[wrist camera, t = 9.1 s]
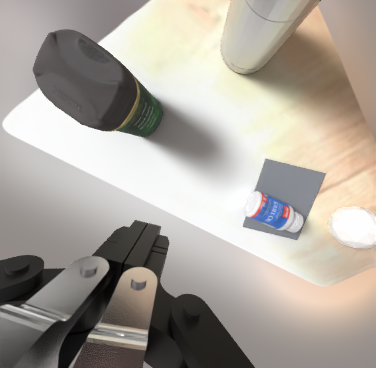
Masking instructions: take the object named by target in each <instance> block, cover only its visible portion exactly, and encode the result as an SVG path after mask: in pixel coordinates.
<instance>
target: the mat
mask: <svg viewBox="0 0 376 368" xmlns="http://www.w3.org/2000/svg"><path fill="white" fill-rule="evenodd" d="M325 174H326V173H322V172H318V171H314V170H310V169H306V168H301V167H297V166H293V165H289V164H285V163H281V162H277V161H273V160H269V159H265V162H264V165H263V168H262V171H261V174H260V177H259V180H258V183H257V185H256V188H255V191H258V192H261V193H263V194H266V195H268V196H270V197H273V198H275V199H277V200H279V201H282V202H284V203H286V204H288V205H290V206H291V207H292V208H293V210H294V211H295V212H297V213H299V214H301V215H302V216H303V225H304V223H305V220H306V218H307V216H308V213H309V211H310V209H311V206H312V204H313V202H314V199H315V197H316V195H317V192H318V190H319V188H320V185H321V183H322V181H323V178H324V176H325ZM255 191H254V192H255ZM303 225H302V227H303ZM243 227H246V228H250V229H254V230H258V231H262V232H266V233H270V234H275V235H279V236H283V237H287V238H291V239H295V240H297V239H298V237H299V234H300V232H301V230H302V227H301V229H300V230H299V231H297V232H294V233H292V232H290V231H287V230H276V229H274V228H272V227H269V226H267V225H265V224H262V223H260V222H258V221H256V220H253V219H251V218H249V217H247V216H246V218H245V221H244V224H243Z"/></svg>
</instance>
